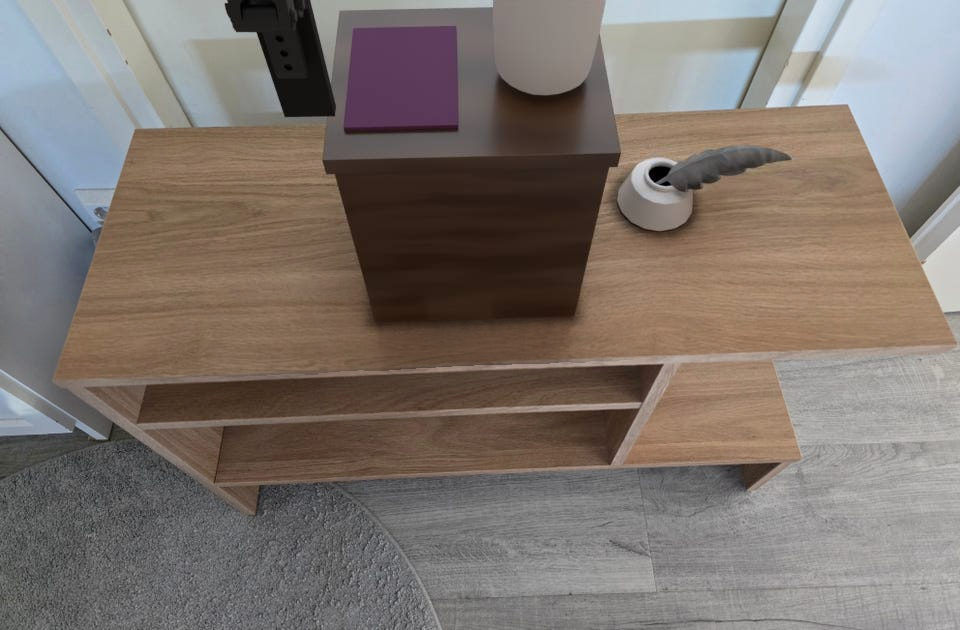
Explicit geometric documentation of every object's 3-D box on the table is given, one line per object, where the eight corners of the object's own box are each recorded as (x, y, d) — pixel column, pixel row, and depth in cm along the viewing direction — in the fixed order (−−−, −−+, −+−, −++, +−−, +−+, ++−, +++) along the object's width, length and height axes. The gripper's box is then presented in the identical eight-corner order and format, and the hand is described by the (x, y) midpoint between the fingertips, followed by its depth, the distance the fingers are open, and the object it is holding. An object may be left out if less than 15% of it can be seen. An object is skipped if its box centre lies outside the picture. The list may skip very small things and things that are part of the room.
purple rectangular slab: (458, 128, 54) (458, 124, 53) (344, 131, 54) (343, 127, 53) (456, 29, 60) (456, 25, 59) (353, 31, 60) (353, 27, 59)
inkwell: (613, 173, 85) (628, 112, 77) (756, 174, 85) (787, 113, 77) (620, 232, 81) (636, 175, 72) (772, 233, 81) (806, 175, 72)
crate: (579, 320, 75) (621, 153, 52) (370, 326, 75) (322, 160, 52) (564, 193, 84) (594, 4, 61) (378, 198, 84) (339, 10, 61)
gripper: (246, -418, 16) (374, 191, 34) (336, -612, 28) (394, -91, 46) (-83, -414, 16) (223, 194, 34) (155, -611, 28) (284, -89, 46)
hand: (322, 30), depth 40 cm, fingers open, 13 cm apart
